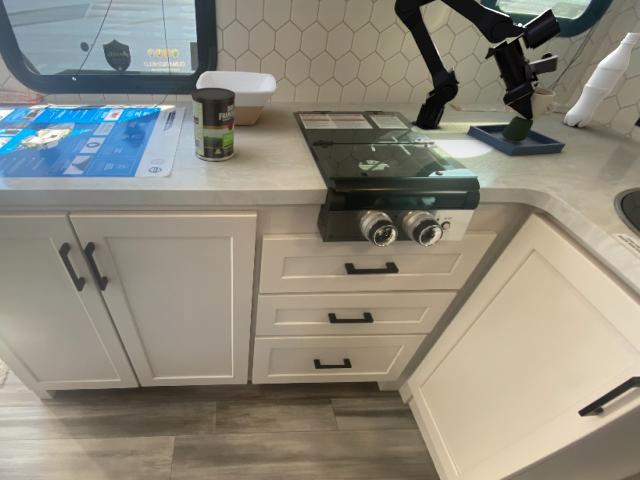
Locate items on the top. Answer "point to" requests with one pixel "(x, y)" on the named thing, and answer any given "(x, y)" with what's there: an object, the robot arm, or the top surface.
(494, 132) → the shallow blue square tray
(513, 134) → the character mug
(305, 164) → the top surface
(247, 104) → the bowl
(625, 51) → the water bottle
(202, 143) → the coffee can
